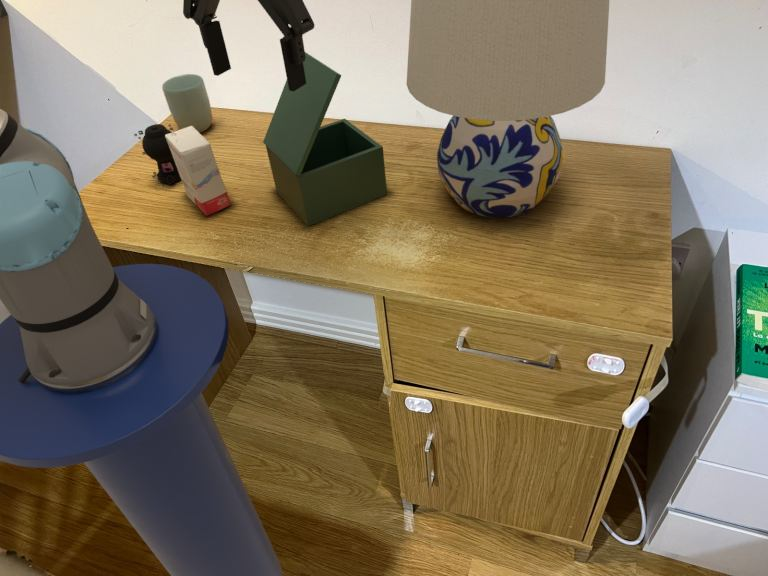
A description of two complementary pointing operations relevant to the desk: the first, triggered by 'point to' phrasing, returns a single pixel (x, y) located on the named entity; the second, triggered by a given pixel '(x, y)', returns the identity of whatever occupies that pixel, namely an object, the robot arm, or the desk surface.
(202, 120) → the cup
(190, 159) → the ink box
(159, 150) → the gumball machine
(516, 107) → the table lamp
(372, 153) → the chest
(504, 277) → the desk surface
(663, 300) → the desk surface
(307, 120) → the lid
